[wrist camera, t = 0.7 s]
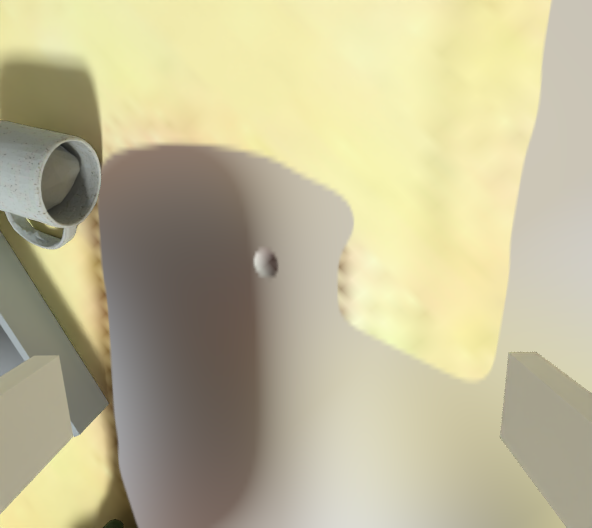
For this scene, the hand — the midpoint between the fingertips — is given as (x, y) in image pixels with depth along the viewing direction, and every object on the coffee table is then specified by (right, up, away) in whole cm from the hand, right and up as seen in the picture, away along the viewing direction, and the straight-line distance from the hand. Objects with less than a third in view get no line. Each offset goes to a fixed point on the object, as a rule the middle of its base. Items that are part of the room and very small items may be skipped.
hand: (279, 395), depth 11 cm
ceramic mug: (-21, +11, +24) cm, 34 cm away
